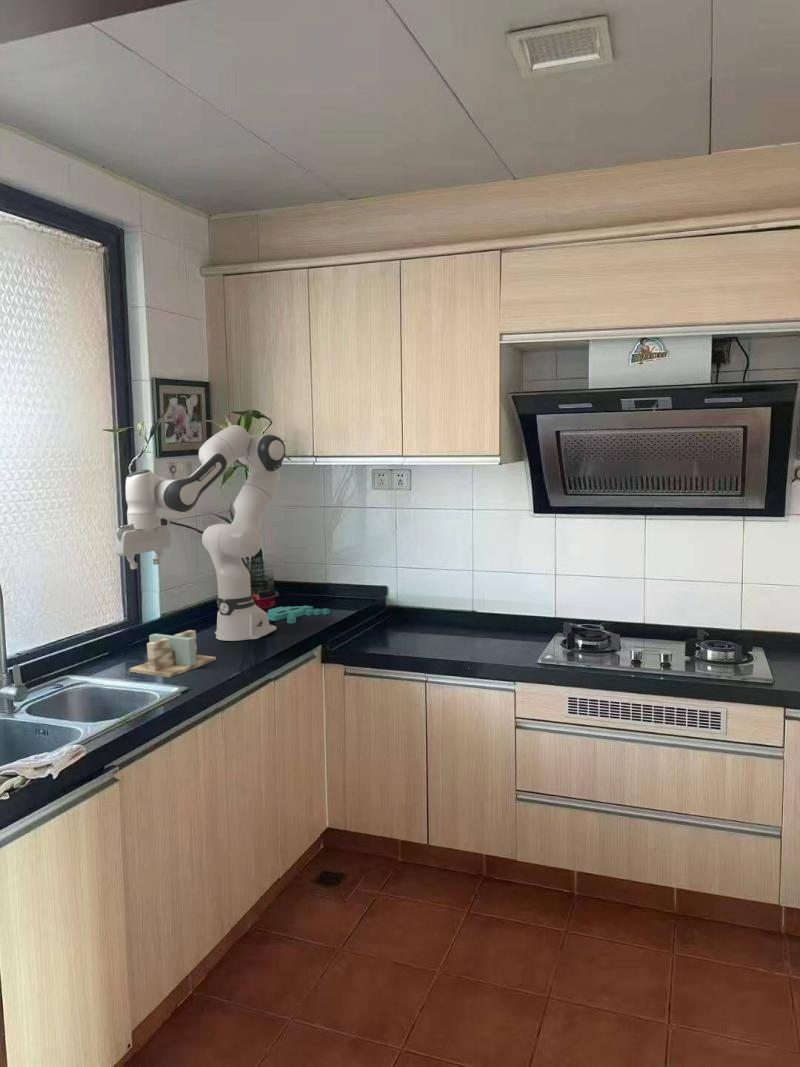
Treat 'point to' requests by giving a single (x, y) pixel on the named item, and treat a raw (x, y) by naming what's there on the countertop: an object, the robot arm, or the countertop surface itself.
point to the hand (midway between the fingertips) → (145, 566)
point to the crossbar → (179, 648)
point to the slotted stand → (168, 658)
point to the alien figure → (293, 613)
